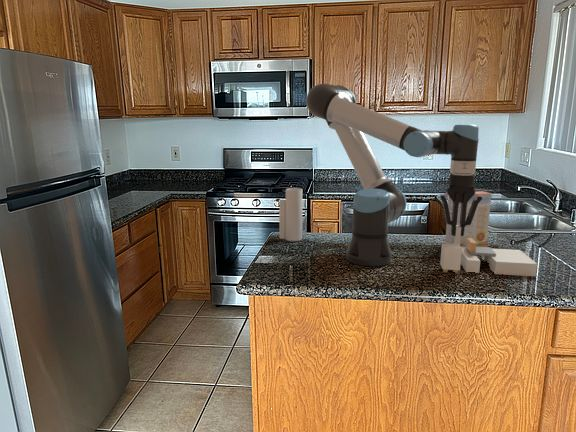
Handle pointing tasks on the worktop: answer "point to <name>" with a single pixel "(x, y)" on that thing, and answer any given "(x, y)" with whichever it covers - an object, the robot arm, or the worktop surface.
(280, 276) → the worktop surface
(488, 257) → the socket
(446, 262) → the plug
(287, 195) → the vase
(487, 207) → the cracker box
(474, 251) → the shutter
